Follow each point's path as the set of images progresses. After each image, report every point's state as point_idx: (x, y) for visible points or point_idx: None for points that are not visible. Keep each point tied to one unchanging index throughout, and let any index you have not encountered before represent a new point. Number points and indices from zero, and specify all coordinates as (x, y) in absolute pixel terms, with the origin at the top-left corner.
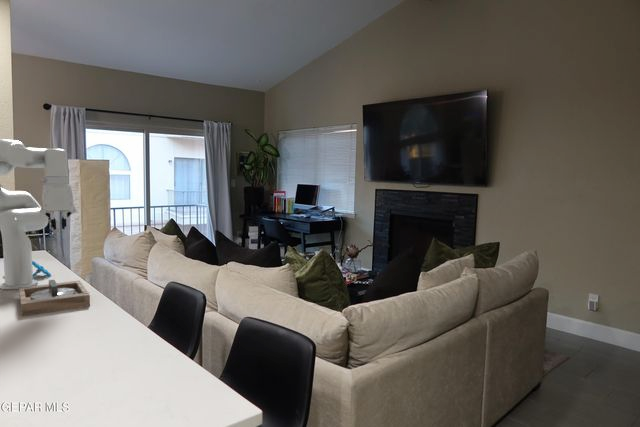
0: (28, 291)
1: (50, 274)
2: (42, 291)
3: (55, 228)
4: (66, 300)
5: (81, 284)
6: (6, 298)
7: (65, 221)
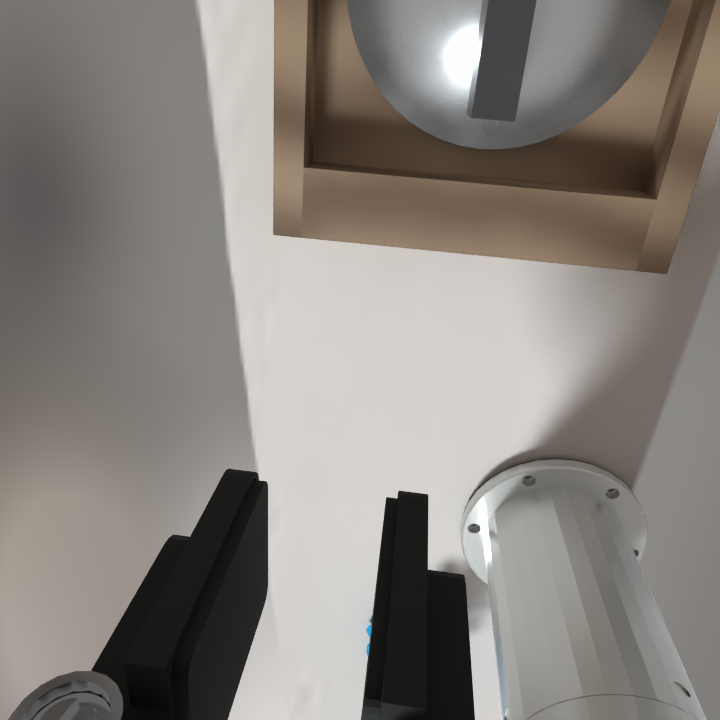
0: (622, 193)
1: (370, 630)
2: (556, 95)
3: (399, 501)
4: None
5: (280, 83)
6: (697, 299)
7: (134, 630)
